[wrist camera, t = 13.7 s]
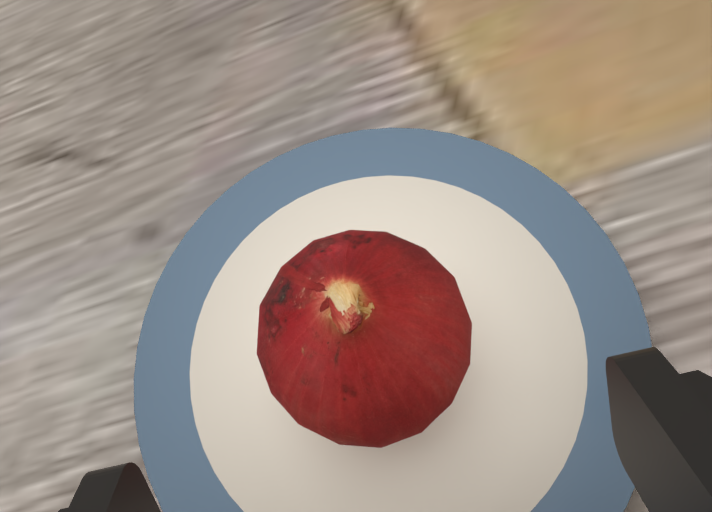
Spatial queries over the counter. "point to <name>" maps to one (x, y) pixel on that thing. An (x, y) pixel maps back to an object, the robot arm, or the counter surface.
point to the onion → (364, 338)
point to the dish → (488, 340)
